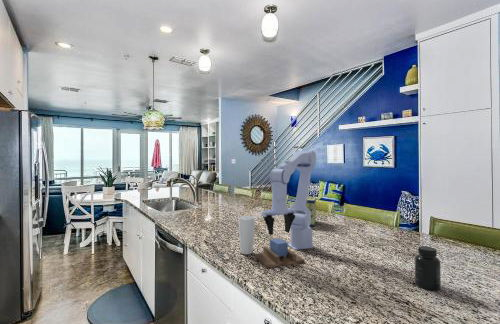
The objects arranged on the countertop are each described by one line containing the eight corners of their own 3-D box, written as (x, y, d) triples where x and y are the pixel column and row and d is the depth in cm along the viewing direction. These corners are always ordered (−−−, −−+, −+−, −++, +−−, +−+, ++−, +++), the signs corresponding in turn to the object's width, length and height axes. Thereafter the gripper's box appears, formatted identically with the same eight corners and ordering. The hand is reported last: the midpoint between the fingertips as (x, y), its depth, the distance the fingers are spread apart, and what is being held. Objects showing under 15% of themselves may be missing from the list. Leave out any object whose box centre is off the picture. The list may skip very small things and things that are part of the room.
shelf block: (287, 255, 105) (287, 242, 105) (277, 257, 103) (277, 244, 103) (279, 250, 110) (279, 238, 110) (269, 252, 108) (270, 239, 108)
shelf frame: (289, 251, 115) (289, 243, 114) (304, 262, 103) (304, 253, 103) (254, 256, 109) (254, 247, 109) (266, 267, 98) (266, 258, 98)
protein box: (296, 225, 158) (296, 199, 158) (299, 220, 173) (299, 196, 173) (314, 227, 155) (314, 200, 155) (315, 221, 170) (316, 196, 170)
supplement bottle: (430, 280, 88) (430, 244, 88) (445, 291, 81) (446, 252, 81) (409, 281, 88) (410, 244, 88) (423, 291, 81) (424, 252, 81)
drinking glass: (240, 256, 109) (240, 219, 109) (236, 250, 116) (237, 216, 115) (256, 254, 111) (256, 218, 111) (252, 249, 117) (252, 215, 117)
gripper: (289, 196, 113) (288, 228, 113) (258, 198, 106) (258, 232, 107) (299, 198, 106) (298, 232, 107) (267, 201, 100) (266, 237, 100)
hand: (279, 233), depth 106 cm, fingers open, 7 cm apart
